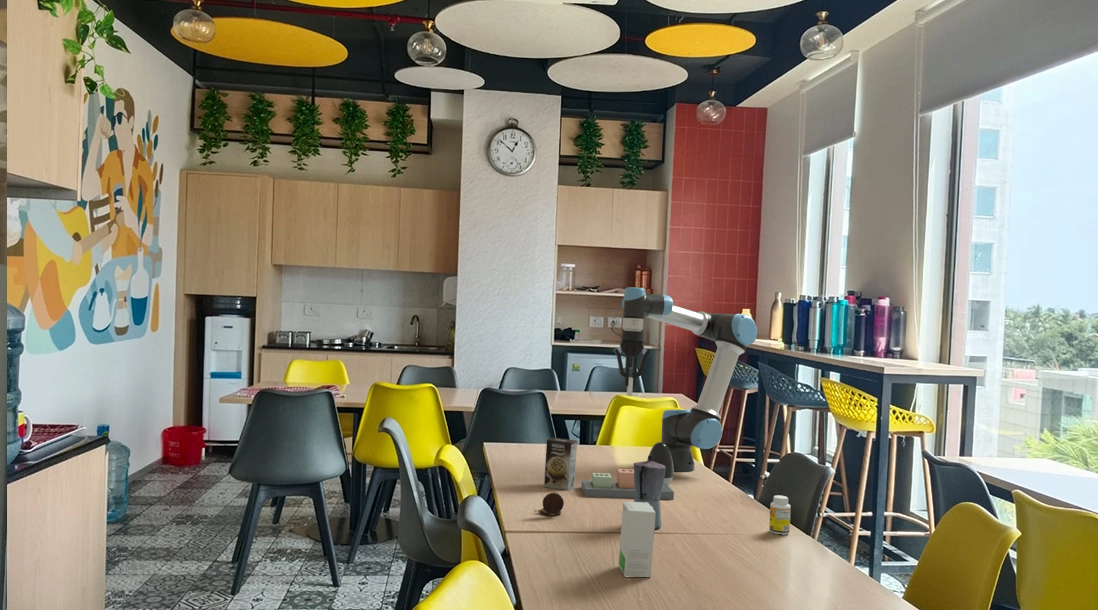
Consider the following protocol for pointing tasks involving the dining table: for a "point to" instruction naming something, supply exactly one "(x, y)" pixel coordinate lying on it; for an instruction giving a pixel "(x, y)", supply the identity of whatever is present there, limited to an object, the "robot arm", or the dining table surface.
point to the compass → (552, 505)
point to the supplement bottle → (780, 515)
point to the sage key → (601, 480)
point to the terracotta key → (625, 478)
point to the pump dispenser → (663, 460)
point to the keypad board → (619, 491)
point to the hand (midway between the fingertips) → (629, 395)
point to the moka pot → (649, 485)
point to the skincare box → (637, 539)
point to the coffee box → (560, 463)
